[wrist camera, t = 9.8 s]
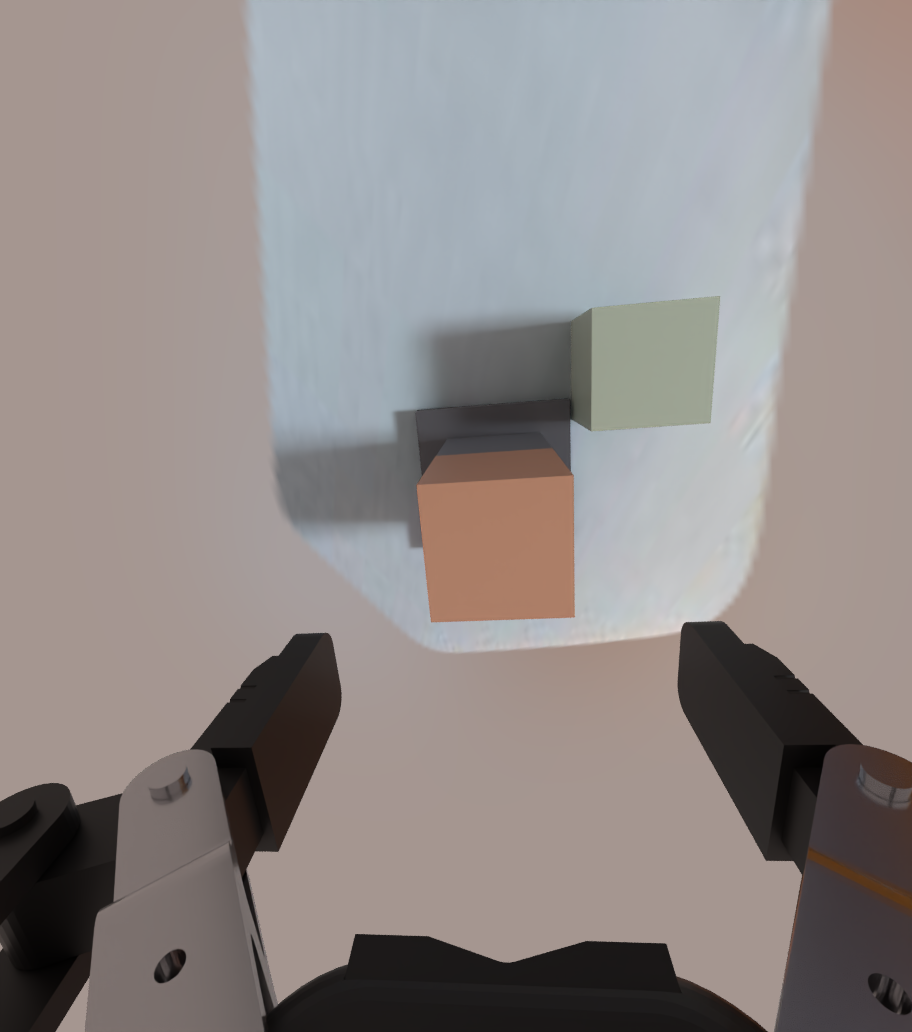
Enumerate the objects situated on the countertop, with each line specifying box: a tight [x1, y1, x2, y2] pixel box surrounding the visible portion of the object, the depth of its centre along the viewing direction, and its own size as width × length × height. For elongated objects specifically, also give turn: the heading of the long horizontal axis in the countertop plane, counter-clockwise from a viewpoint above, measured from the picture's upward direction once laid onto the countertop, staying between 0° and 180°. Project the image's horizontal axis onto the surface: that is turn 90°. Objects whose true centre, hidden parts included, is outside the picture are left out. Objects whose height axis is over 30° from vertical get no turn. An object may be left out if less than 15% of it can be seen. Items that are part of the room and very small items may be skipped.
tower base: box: [415, 399, 571, 476], centre depth 26 cm, size 9×9×7 cm
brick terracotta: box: [416, 448, 575, 622], centre depth 20 cm, size 6×6×6 cm
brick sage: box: [571, 296, 720, 431], centre depth 24 cm, size 6×6×6 cm
